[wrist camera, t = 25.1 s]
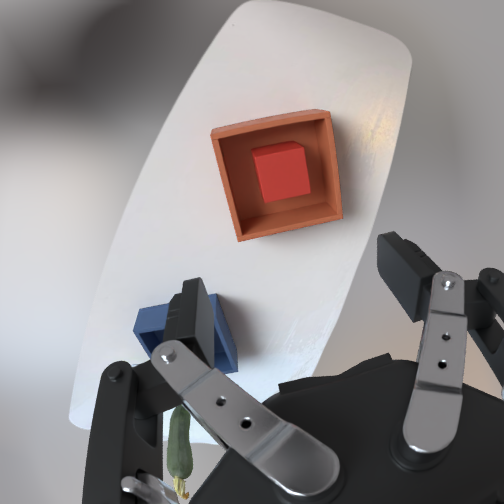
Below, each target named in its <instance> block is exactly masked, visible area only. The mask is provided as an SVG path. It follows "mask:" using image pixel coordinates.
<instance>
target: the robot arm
mask: <svg viewBox="0 0 504 504" xmlns="http://www.w3.org/2000/svg"><path fill="white" fill-rule="evenodd" d="M377 267H378V271H379V274H380V276H381V277H382V279H383V280H384V282H385V283H386V284H387V286H388V287H389V289H390V290H391V291H392V293H393V294H394V296H395V297H396V298H397V300H398V301H399V303H400V304H401V306H402V307H403V309H404V310H405V311H406V313H407V314H408V316H409V317H410V319H411V320H412V322H413V323H414V322H417V321H420V320H423V321H424V326H423V331H422V337H421V341H420V346H419V350H418V355H417V359H416V362H414V361H409V360H392V358H391V356H390V354H389V353H386V354H383V355H380V356H378V357H374V358H372V359H368V360H365V361H363V362H361V363H359V364H358V365H356V366H354V367H352V368H350V369H349V370H347V371H345V372H343V373H342V374H339V375H336V376H322V377H306V378H302V379H298V380H293V381H289V382H285V383H280V384H278V386H279V391H280V392H279V393H276V394H274V395H273V396H271V397H269V398H268V399H266V400H265V401H264V402H263V403H260V402H258V401H257V400H256V399H255V398H253V397H252V396H251V395H249V394H248V393H247V392H246V391H244V390H243V389H242V388H241V387H239V386H238V385H237V384H236V383H234V382H233V381H232V380H231V379H230V378H228V377H227V376H226V375H225V374H223V373H222V372H221V371H220V370H219V369H217V368H215V367H214V312H213V308H212V304H211V302H210V299H209V297H208V294H207V291H206V289H205V286H204V283H203V281H202V279H201V278H200V277H198V278H194V279H190V280H185V281H184V282H183V288H182V293H179V294H175V295H174V297H173V298H172V300H171V301H170V302H169V307H168V313H167V320H166V323H165V329H164V335H163V341H162V343H161V344H160V345H158V346H157V347H156V348H155V349H154V350H153V352H152V354H151V359H150V360H149V361H146V362H144V363H142V364H139V365H137V366H135V367H131V365H130V364H129V363H128V362H125V361H117V362H114V363H112V364H110V365H109V366H108V367H107V368H106V369H105V370H104V371H103V373H102V376H101V380H100V384H99V389H98V394H97V399H96V404H95V409H94V414H93V420H92V426H91V432H90V438H89V445H88V451H87V452H88V453H87V459H86V467H85V477H84V486H83V498H82V504H180V503H179V501H178V497H177V494H176V492H175V490H174V489H173V488H172V487H171V486H169V485H168V484H166V483H165V482H163V455H162V454H163V412H165V411H167V410H170V409H172V408H174V407H177V406H179V405H183V407H184V408H185V409H186V410H187V411H188V412H189V413H190V414H191V415H192V416H193V417H194V418H195V420H196V421H197V422H198V423H199V424H200V425H201V426H202V427H203V428H204V429H205V430H206V431H207V432H208V433H209V434H210V435H211V436H212V437H213V439H214V440H215V441H216V442H217V443H218V444H219V445H220V446H221V447H222V448H223V449H224V450H226V453H225V454H224V455H223V457H222V458H221V460H220V461H219V462H218V464H217V465H216V467H215V468H214V469H213V471H212V472H211V473H210V475H209V476H208V477H207V479H206V480H205V481H204V483H203V484H202V485H201V487H200V488H199V489H198V490H197V492H196V493H195V494H194V496H193V497H192V498H191V500H190V502H189V504H504V330H503V329H502V327H501V326H500V324H499V323H498V322H497V320H496V319H495V317H496V314H498V316H499V317H500V318H501V320H502V321H503V322H504V273H502V272H501V271H499V270H497V269H495V268H485V269H483V270H481V271H480V273H479V277H478V280H477V279H476V280H463V279H462V277H461V276H460V275H458V274H457V273H454V272H451V271H442V270H441V269H440V268H439V267H438V266H437V265H436V264H435V263H434V262H433V261H432V260H431V259H430V258H429V257H428V256H427V255H426V254H425V253H424V252H423V251H422V250H421V249H420V248H419V247H418V246H417V245H416V244H415V243H413V242H411V241H409V240H407V239H404V240H403V239H402V238H401V237H400V236H399V235H398V234H397V233H396V232H394V231H393V232H388V233H384V234H380V235H378V238H377ZM467 331H468V332H469V334H470V335H471V337H472V338H473V340H474V341H475V343H476V345H477V346H478V348H479V349H480V351H481V352H482V354H483V356H484V357H485V359H486V360H487V362H488V364H489V365H490V367H491V369H492V370H493V372H494V374H495V375H496V377H497V379H498V381H499V382H500V384H501V386H502V392H501V393H502V394H501V395H502V399H503V400H501V399H499V398H497V397H494V396H492V395H490V394H487V393H485V392H483V391H480V390H478V389H476V388H474V387H471V386H469V385H467V384H465V383H462V382H463V374H464V364H465V354H466V341H467Z"/></svg>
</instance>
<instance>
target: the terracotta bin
mask: <svg viewBox="0 0 504 504" xmlns="http://www.w3.org/2000/svg"><path fill="white" fill-rule="evenodd" d="M330 117H331V115H330V112H329V111H324V110H319V109H312V110H305V111H299V112H293V113H287V114H281V115H276V116H270V117H265V118H260V119H255V120H250V121H246V122H241V123H237V124H232V125H228V126H224V127H220V128H216V129H212V131H211V134H210V136H211V140H212V144H213V148H214V152H215V156H216V160H217V163H218V167H219V171H220V175H221V179H222V183H223V187H224V190H225V194H226V198H227V202H228V206H229V210H230V213H231V217H232V221H233V225H234V229H235V232H236V236H237V240H238V242H241V241H246V240H250V239H254V238H259V237H263V236H267V235H272V234H276V233H281V232H285V231H289V230H294V229H298V228H303V227H307V226H312V225H316V224H321V223H325V222H330V221H334V220H339V219H343V214H342V213H343V212H342V201H341V191H340V181H339V172H338V164H337V156H336V149H335V141H334V134H333V128H332V121H331V118H330ZM291 140H294V141H295V142H297V143H298V144H299V145H301V146H302V147H304V150H305V156H306V162H307V169H308V175H309V181H310V188H311V193H310V194H305V195H300V196H296V197H291V198H287V199H282V200H278V201H273V202H269V203H264V200H263V197H262V194H261V192H260V189H259V185H258V180H257V176H256V171H255V167H254V162H253V158H252V153H251V149H252V148H257V147H261V146H266V145H271V144H276V143H281V142H286V141H291Z"/></svg>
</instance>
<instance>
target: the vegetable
mask: <svg viewBox="0 0 504 504" xmlns="http://www.w3.org/2000/svg"><path fill="white" fill-rule="evenodd" d="M190 417H191V415H190V413H189V412H188V411H187V410H186V409H185V408H184V407H183V405H180V406H177V407H176V408H175V409H174V411H173V413H172V416H171V419H170V429H169V438H168V448H167V468H168V471H169V473H170V475H171V476H172V477H174V480H173V483H174V489H175V491H176V493H177V494H178V495H179V496H180V497H181V498H183V499H187V498H188V496H189V492H188V493H186V494H185V481H184V480H183V479H186V478H188V477H189V476H190V475H191V472H192V469H193V458H192V451H191V446H190V442H189V428H190Z"/></svg>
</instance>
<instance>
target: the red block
mask: <svg viewBox="0 0 504 504" xmlns="http://www.w3.org/2000/svg"><path fill="white" fill-rule="evenodd" d="M251 153H252V158H253V162H254V167H255V171H256V176H257V180H258V185H259V189H260V192H261V194H262V197H263V200H264V203H269V202H273V201H278V200H282V199H287V198H291V197H296V196H300V195H305V194H310V193H311V188H310V181H309V175H308V169H307V162H306V156H305V150H304V147H302V146H301V145H299V144H298V143H297V142H295V141H294V140H291V141H286V142H281V143H276V144H271V145H266V146H261V147H257V148H252V149H251Z"/></svg>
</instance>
